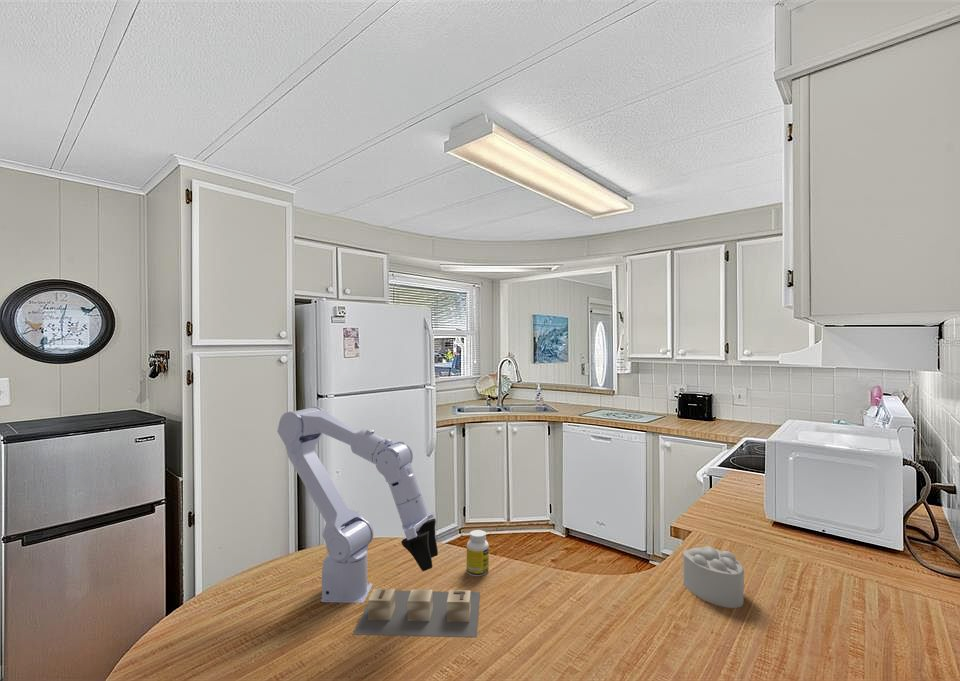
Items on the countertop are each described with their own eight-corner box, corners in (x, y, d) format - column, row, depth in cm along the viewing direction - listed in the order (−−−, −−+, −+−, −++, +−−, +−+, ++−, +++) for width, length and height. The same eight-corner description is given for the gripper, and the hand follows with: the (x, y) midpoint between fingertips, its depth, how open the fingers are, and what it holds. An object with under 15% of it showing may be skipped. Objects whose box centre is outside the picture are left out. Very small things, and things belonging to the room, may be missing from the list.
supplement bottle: (486, 579, 115) (486, 538, 115) (464, 577, 116) (464, 536, 116) (490, 568, 120) (490, 529, 120) (469, 566, 121) (469, 527, 121)
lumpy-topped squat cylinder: (714, 575, 117) (714, 539, 117) (757, 604, 104) (757, 564, 104) (676, 580, 114) (676, 544, 114) (716, 611, 102) (716, 570, 101)
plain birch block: (407, 620, 97) (407, 601, 97) (411, 608, 102) (411, 589, 102) (429, 621, 97) (429, 601, 97) (432, 608, 102) (432, 589, 102)
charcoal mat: (352, 637, 93) (352, 634, 93) (374, 592, 109) (374, 590, 109) (477, 640, 92) (477, 637, 92) (480, 594, 108) (480, 592, 108)
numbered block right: (447, 621, 97) (446, 601, 97) (449, 608, 102) (449, 589, 101) (469, 622, 97) (469, 601, 97) (470, 609, 101) (470, 589, 101)
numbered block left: (368, 619, 98) (368, 599, 98) (374, 607, 102) (373, 587, 102) (390, 620, 97) (390, 599, 97) (395, 607, 102) (395, 588, 102)
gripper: (420, 500, 95) (443, 568, 93) (431, 486, 110) (452, 545, 108) (386, 513, 95) (409, 581, 94) (402, 497, 110) (423, 556, 108)
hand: (430, 562), depth 101 cm, fingers open, 7 cm apart
